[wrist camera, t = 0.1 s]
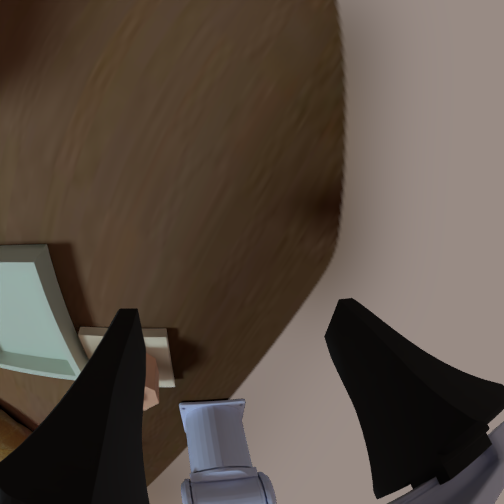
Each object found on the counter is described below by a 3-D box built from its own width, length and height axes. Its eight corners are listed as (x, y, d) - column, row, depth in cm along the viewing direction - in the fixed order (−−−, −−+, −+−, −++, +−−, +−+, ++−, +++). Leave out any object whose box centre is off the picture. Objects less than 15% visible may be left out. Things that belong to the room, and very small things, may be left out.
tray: (89, 362, 23) (85, 381, 21) (-5, 349, 20) (-11, 364, 18) (46, 244, 16) (34, 262, 14) (-54, 247, 13) (-67, 261, 11)
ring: (161, 380, 25) (161, 410, 22) (109, 379, 24) (106, 408, 21) (151, 337, 21) (149, 371, 19) (90, 335, 20) (83, 368, 17)
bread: (-10, 387, 24) (-23, 439, 16) (83, 463, 43) (83, 498, 34) (-59, 373, 21) (-72, 413, 13) (29, 452, 39) (27, 483, 31)
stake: (174, 379, 27) (177, 425, 22) (102, 377, 25) (97, 421, 20) (166, 328, 23) (166, 382, 18) (80, 326, 21) (66, 377, 16)
